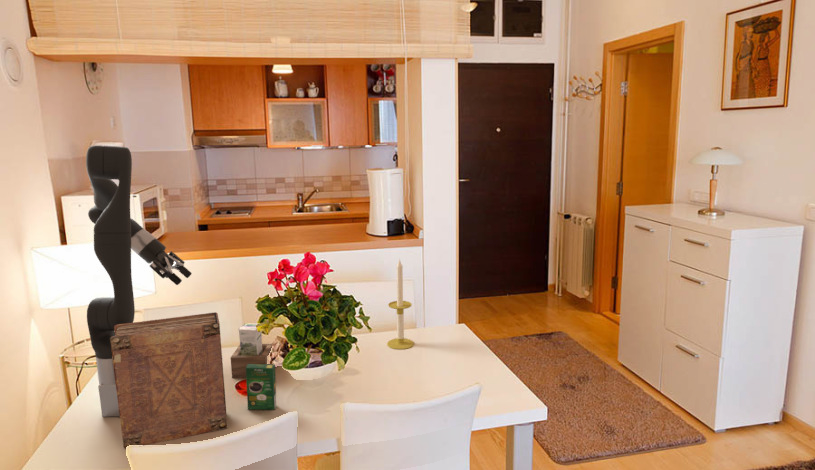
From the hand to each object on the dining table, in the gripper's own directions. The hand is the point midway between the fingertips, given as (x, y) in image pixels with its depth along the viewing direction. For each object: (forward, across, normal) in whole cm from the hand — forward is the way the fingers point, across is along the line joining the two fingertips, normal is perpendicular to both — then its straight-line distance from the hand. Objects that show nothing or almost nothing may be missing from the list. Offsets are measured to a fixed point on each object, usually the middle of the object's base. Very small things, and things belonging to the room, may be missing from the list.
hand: (184, 279), depth 182 cm
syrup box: (+36, -6, +5) cm, 37 cm away
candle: (+72, +14, -29) cm, 79 cm away
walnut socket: (+37, -6, +5) cm, 38 cm away
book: (+29, -42, +14) cm, 53 cm away
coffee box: (+44, -31, -1) cm, 53 cm away
